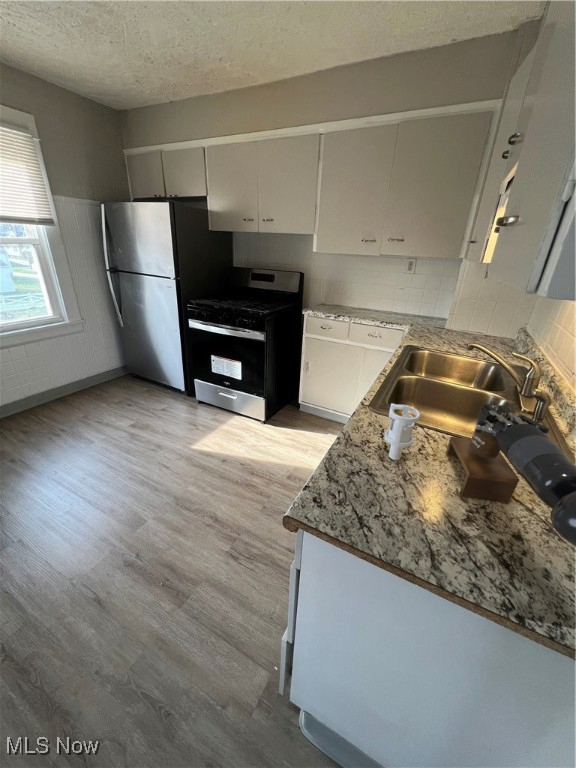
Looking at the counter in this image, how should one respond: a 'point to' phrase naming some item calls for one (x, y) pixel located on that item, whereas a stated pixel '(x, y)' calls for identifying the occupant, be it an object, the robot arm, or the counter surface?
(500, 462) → the wooden pedestal stand
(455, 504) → the counter surface
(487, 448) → the utensil holder
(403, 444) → the strainer
